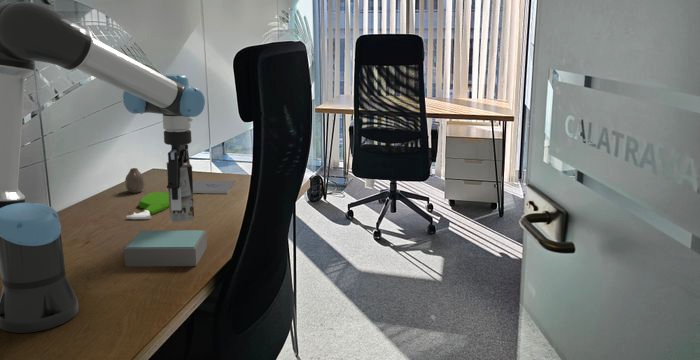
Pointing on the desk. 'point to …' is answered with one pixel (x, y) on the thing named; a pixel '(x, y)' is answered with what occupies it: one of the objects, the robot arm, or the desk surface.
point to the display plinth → (166, 248)
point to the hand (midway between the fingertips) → (181, 204)
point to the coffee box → (184, 195)
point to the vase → (134, 181)
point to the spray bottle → (152, 205)
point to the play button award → (212, 186)
